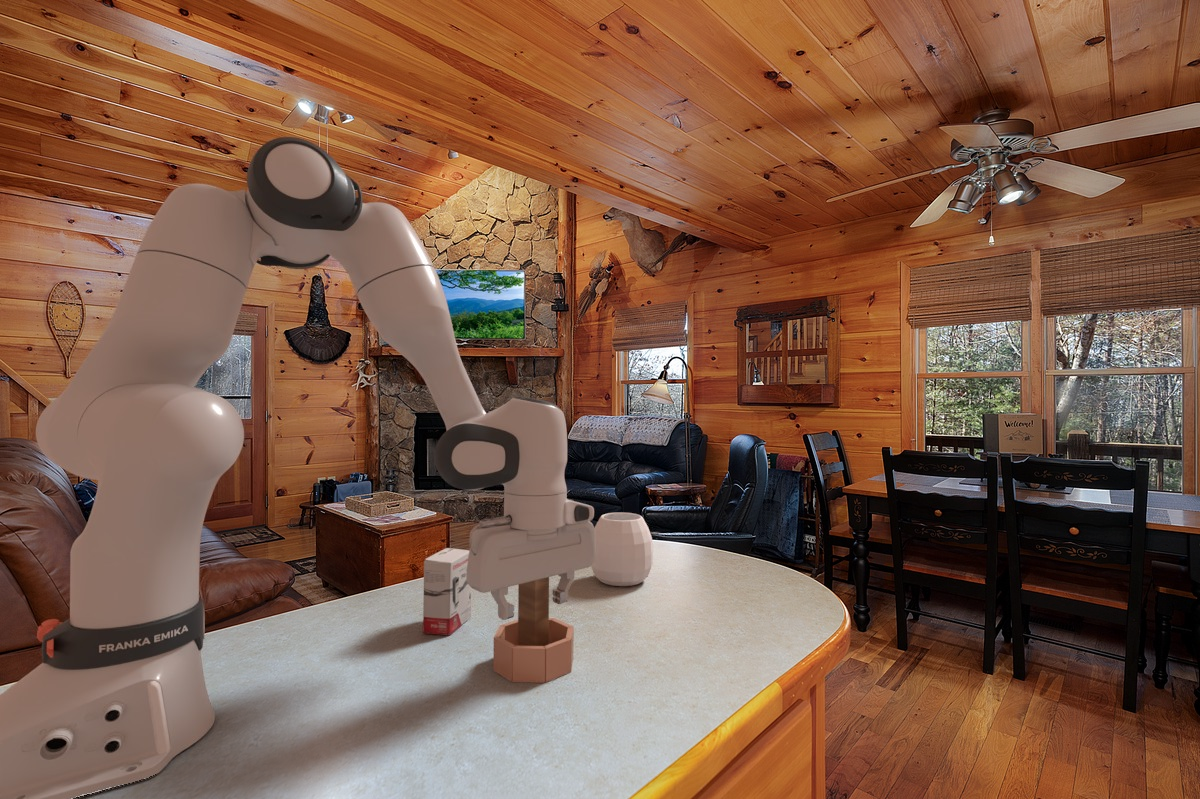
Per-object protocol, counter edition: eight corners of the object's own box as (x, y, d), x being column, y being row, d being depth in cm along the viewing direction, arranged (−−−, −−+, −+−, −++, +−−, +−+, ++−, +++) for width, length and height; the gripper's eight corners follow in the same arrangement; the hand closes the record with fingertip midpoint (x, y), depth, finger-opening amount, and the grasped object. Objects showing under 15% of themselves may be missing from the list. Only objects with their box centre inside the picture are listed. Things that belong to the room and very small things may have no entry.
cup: (655, 592, 113) (656, 523, 113) (588, 591, 113) (588, 522, 113) (650, 571, 126) (650, 510, 126) (590, 571, 127) (590, 509, 127)
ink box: (450, 636, 91) (450, 562, 91) (421, 634, 92) (422, 560, 92) (472, 616, 100) (473, 548, 100) (446, 614, 101) (447, 546, 101)
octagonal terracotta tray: (526, 690, 74) (526, 655, 74) (481, 662, 82) (481, 631, 82) (588, 664, 82) (588, 633, 82) (541, 641, 90) (541, 612, 90)
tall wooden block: (534, 666, 80) (535, 579, 80) (517, 656, 83) (518, 573, 83) (548, 661, 82) (549, 576, 82) (531, 651, 84) (532, 570, 84)
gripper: (483, 525, 72) (481, 635, 72) (602, 507, 86) (601, 599, 86) (458, 517, 77) (456, 621, 77) (575, 501, 91) (573, 589, 91)
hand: (534, 609), depth 82 cm, fingers open, 8 cm apart
